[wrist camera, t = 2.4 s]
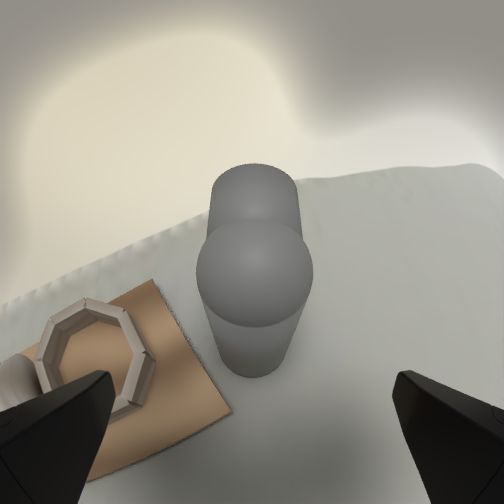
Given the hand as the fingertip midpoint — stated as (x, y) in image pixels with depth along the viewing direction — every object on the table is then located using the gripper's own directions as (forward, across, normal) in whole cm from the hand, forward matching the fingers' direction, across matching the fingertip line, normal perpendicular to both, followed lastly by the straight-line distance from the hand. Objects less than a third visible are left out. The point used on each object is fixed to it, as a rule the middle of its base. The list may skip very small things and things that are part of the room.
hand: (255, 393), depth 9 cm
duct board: (+9, +13, +10) cm, 19 cm away
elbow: (+13, 0, +6) cm, 15 cm away
